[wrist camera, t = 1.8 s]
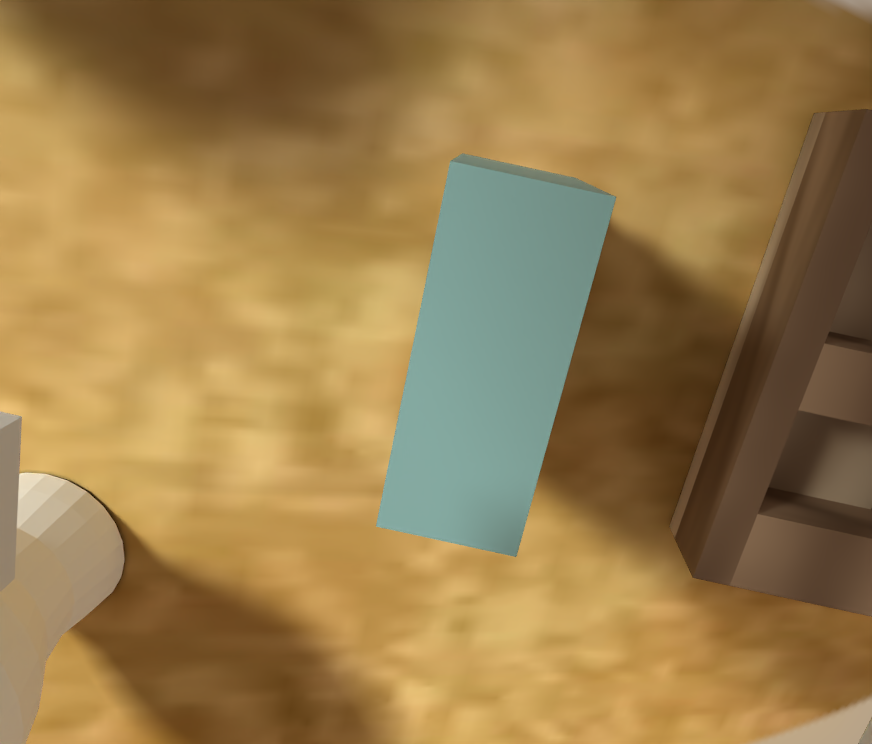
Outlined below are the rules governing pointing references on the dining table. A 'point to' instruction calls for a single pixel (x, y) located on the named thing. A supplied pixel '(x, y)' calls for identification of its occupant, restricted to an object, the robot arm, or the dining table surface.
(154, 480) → the dining table surface
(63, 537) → the cup
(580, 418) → the dining table surface
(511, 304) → the long teal block
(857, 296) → the brown wooden slotted block
